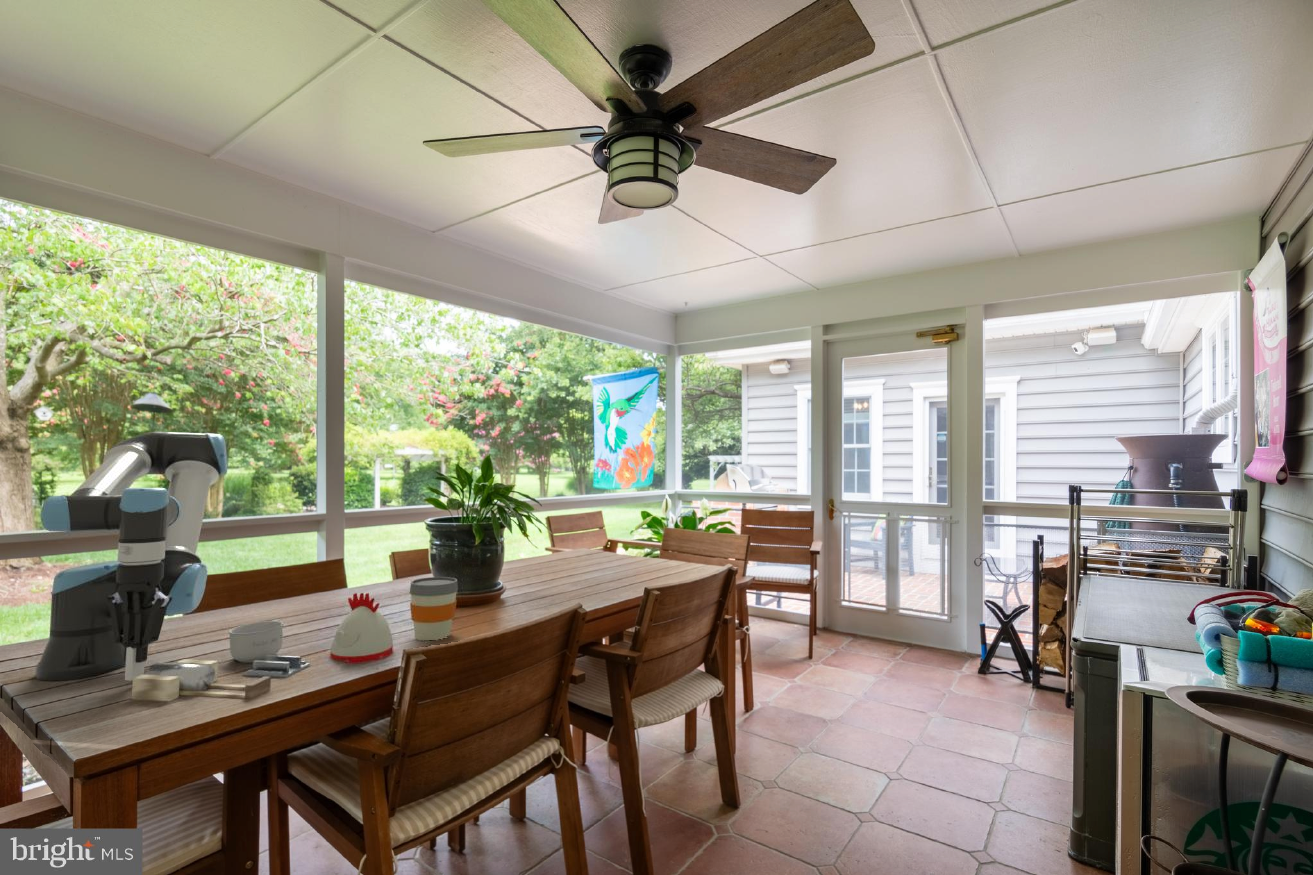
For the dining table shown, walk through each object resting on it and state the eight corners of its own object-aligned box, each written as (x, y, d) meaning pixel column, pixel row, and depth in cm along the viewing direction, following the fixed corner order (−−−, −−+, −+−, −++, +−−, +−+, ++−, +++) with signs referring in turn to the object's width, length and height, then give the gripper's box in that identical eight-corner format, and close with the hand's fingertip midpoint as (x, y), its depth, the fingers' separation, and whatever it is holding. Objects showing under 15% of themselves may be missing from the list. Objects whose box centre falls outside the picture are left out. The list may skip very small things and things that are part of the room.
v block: (242, 677, 131) (243, 663, 132) (269, 665, 139) (269, 652, 139) (285, 679, 130) (286, 665, 131) (309, 667, 138) (310, 654, 139)
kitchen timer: (355, 644, 157) (358, 586, 158) (404, 647, 154) (406, 588, 155) (317, 661, 143) (319, 597, 144) (369, 665, 141) (371, 600, 141)
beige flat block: (131, 701, 118) (132, 678, 118) (182, 680, 129) (183, 659, 129) (239, 707, 116) (240, 683, 116) (281, 685, 127) (282, 664, 127)
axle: (142, 692, 121) (144, 666, 121) (165, 683, 126) (166, 659, 126) (193, 695, 120) (195, 669, 120) (214, 686, 125) (215, 661, 125)
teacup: (255, 669, 137) (256, 633, 137) (215, 665, 139) (217, 630, 139) (302, 650, 151) (304, 618, 151) (265, 647, 153) (267, 615, 153)
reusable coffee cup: (448, 627, 174) (450, 575, 174) (463, 638, 164) (464, 582, 164) (402, 634, 166) (404, 579, 167) (415, 645, 156) (417, 587, 157)
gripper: (94, 564, 122) (86, 682, 121) (152, 565, 120) (146, 686, 119) (130, 558, 129) (123, 670, 128) (185, 560, 128) (179, 673, 127)
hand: (134, 677), depth 124 cm, fingers closed
